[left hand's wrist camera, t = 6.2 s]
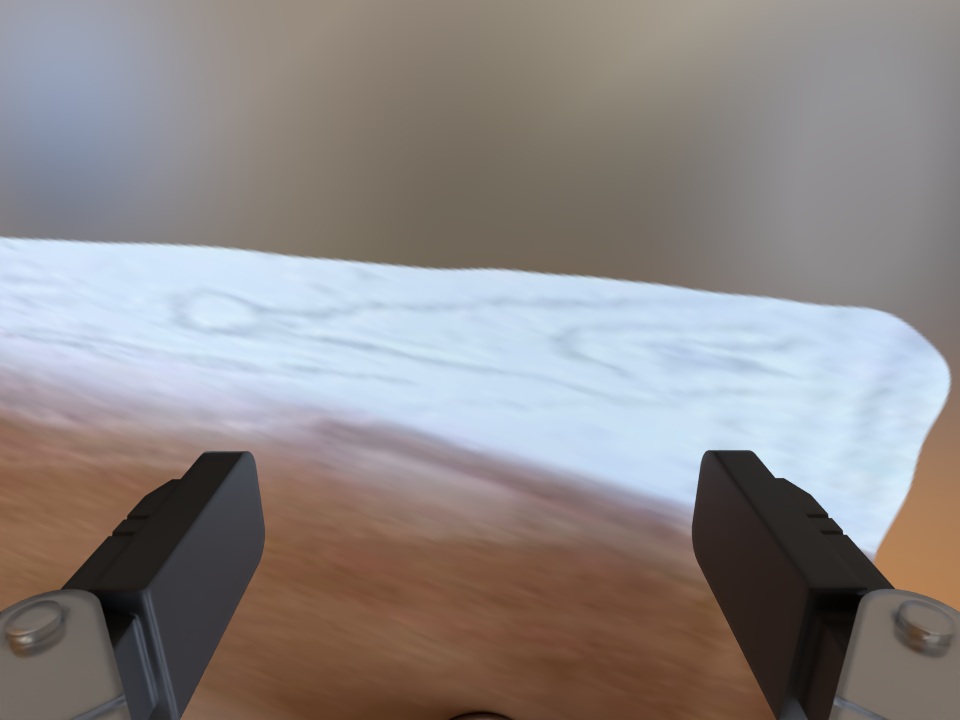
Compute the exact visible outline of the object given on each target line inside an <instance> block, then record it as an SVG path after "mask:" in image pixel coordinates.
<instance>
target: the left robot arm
mask: <svg viewBox="0 0 960 720" xmlns="http://www.w3.org/2000/svg"><path fill="white" fill-rule="evenodd" d="M112 533H113V534H112V536H108V538H107V539H106V540H105V541H104V542H103V543H102V544H101V545H100V546H99V548H98V549H97V550H96V551H95V552H94V553H93V554H92V555H91V556H90V557H89V559H88V560H87V561H86V562H85V563H84V564H83V565H82V566H81V567H80V568H79V570H78V571H77V572H76V573H75V574H74V575H73V576H72V577H71V578H70V580H69V581H68V582H67V583H66V584H65V585H64V586H63V587H62V588H61V589H60V590H55V591H50V592H46V593H42V594H39V595H35V596H32V597H30V598H27V599H25V600H22V601H20V602H18V603H16V604H14V605H12V606H10V607H8V608H7V609H5V610H3V611H1V612H0V720H180V718H181V716H182V714H183V712H184V711H185V709H186V707H187V705H188V703H189V701H190V699H191V697H192V695H193V693H194V691H195V689H196V687H197V685H198V683H199V681H200V679H201V677H202V675H203V673H204V671H205V669H206V667H207V665H208V663H209V661H210V659H211V657H212V655H213V653H214V651H215V649H216V647H217V645H218V643H219V641H220V639H221V637H222V635H223V633H224V631H225V629H226V627H227V625H228V623H229V622H230V620H231V618H232V616H233V614H234V612H235V610H236V608H237V606H238V604H239V602H240V600H241V598H242V596H243V594H244V592H245V590H246V588H247V586H248V584H249V582H250V580H251V578H252V576H253V574H254V572H255V570H256V568H257V566H258V564H259V562H260V559H261V556H262V553H263V548H264V540H265V526H264V519H263V512H262V505H261V498H260V491H259V484H258V477H257V470H256V464H255V460H254V457H253V455H252V454H251V453H250V452H248V451H207V452H204V453H203V454H202V455H201V456H200V457H199V458H198V459H197V460H196V462H195V463H194V464H193V465H192V466H191V468H190V469H189V470H188V471H187V472H186V473H185V475H184V476H183V477H182V478H181V479H172V480H170V481H169V482H167V483H165V484H164V485H162V486H161V487H159V488H157V489H156V490H154V491H152V492H151V493H149V494H148V495H146V496H145V497H144V498H143V499H142V500H141V501H140V502H139V503H138V504H137V506H136V507H135V508H134V509H133V510H132V511H131V512H130V513H129V514H128V515H127V520H123V521H122V522H121V523H120V524H119V525H118V527H117V528H116V529H115V530H114V531H113V532H112ZM692 541H693V548H694V552H695V556H696V559H697V561H698V564H699V566H700V568H701V570H702V572H703V574H704V576H705V578H706V580H707V582H708V584H709V586H710V588H711V590H712V592H713V594H714V596H715V598H716V600H717V602H718V604H719V606H720V608H721V610H722V612H723V614H724V616H725V618H726V620H727V622H728V624H729V626H730V628H731V630H732V632H733V634H734V636H735V638H736V640H737V642H738V644H739V646H740V648H741V650H742V652H743V654H744V656H745V658H746V660H747V662H748V664H749V666H750V668H751V670H752V672H753V674H754V676H755V678H756V680H757V682H758V684H759V686H760V688H761V690H762V692H763V694H764V696H765V698H766V700H767V702H768V704H769V706H770V708H771V710H772V712H773V714H774V716H775V718H776V720H960V612H959V611H957V610H955V609H953V608H952V607H950V606H948V605H946V604H944V603H942V602H940V601H938V600H935V599H933V598H930V597H928V596H924V595H921V594H918V593H914V592H910V591H905V590H898V589H895V588H894V587H893V586H892V585H891V584H890V583H889V581H888V580H887V579H886V578H885V577H884V576H883V575H882V574H881V573H880V571H879V570H878V569H877V568H876V567H875V566H874V565H873V564H872V562H871V561H870V560H869V559H868V558H867V557H866V556H865V555H864V554H863V552H862V551H861V550H860V549H859V548H858V547H857V546H856V545H855V544H854V542H853V541H852V540H851V539H850V538H849V537H848V536H847V535H843V530H842V529H841V528H840V527H839V526H838V525H837V523H836V522H835V521H834V520H833V519H832V518H829V517H828V513H827V512H826V511H825V510H824V509H823V508H822V507H821V506H820V505H819V503H818V502H817V501H816V500H815V499H814V498H813V497H812V496H811V495H810V494H809V493H807V492H805V491H804V490H802V489H801V488H799V487H797V486H796V485H794V484H792V483H791V482H789V481H788V480H786V479H784V478H775V477H774V476H773V475H772V473H771V472H770V471H769V470H768V469H767V468H766V466H765V465H764V464H763V463H762V462H761V460H760V459H759V458H758V457H757V456H756V454H755V453H754V452H752V451H749V450H708V451H706V452H705V453H704V455H703V457H702V461H701V466H700V473H699V480H698V487H697V494H696V501H695V509H694V516H693V523H692ZM454 720H509V719H507V718H504V717H501V716H497V715H490V714H473V715H467V716H462V717H459V718H456V719H454Z"/></svg>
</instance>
